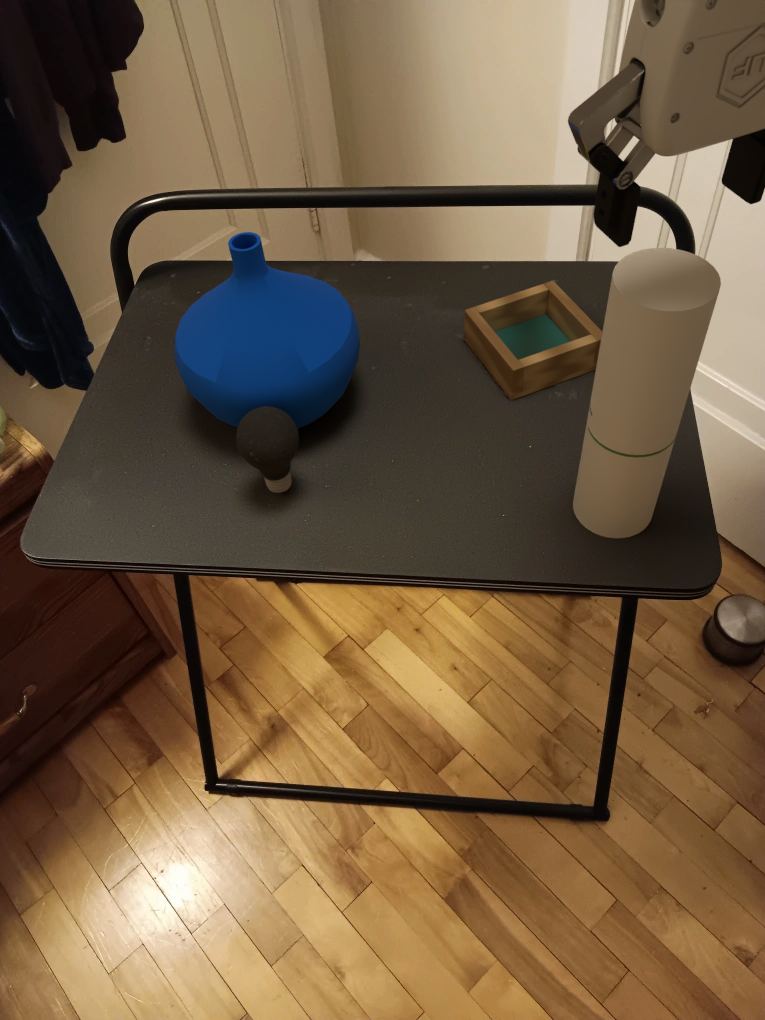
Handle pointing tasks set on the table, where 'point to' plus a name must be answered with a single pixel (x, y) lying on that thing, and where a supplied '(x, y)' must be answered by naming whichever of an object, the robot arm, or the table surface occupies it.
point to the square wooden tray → (532, 339)
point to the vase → (267, 341)
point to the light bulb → (269, 444)
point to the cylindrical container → (641, 385)
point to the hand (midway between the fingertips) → (676, 213)
